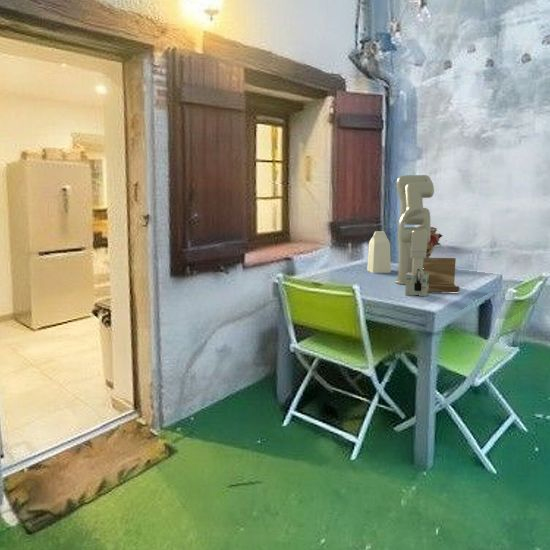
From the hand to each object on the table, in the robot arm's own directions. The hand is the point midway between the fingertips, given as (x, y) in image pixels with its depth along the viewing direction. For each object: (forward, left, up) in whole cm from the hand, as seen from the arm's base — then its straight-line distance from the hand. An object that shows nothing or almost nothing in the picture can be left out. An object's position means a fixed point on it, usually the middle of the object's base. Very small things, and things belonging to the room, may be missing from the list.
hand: (416, 288), depth 236 cm
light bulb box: (0, 0, -3) cm, 3 cm away
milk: (-67, -18, -3) cm, 69 cm away
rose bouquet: (-80, +9, -3) cm, 81 cm away
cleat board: (-13, +13, -3) cm, 19 cm away
